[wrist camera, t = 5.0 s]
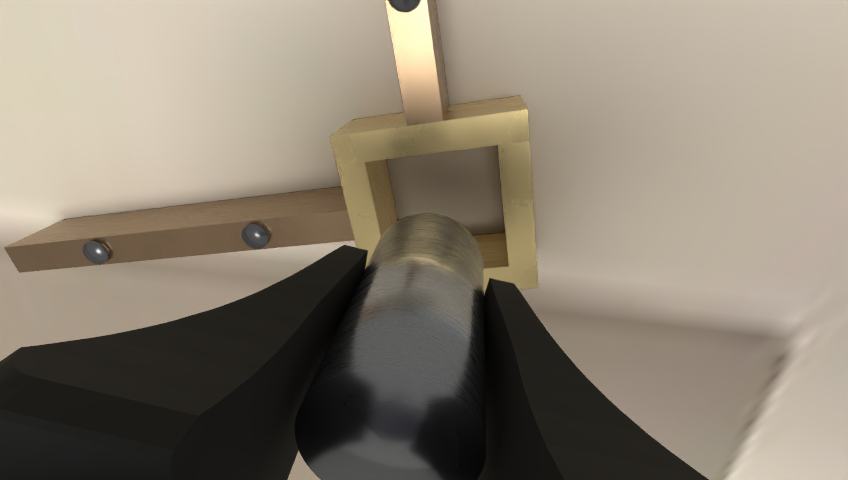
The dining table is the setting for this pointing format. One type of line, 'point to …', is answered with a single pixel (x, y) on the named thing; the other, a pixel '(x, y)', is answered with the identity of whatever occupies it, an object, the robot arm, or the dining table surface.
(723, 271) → the dining table surface
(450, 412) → the hinge pin
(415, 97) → the hinge
